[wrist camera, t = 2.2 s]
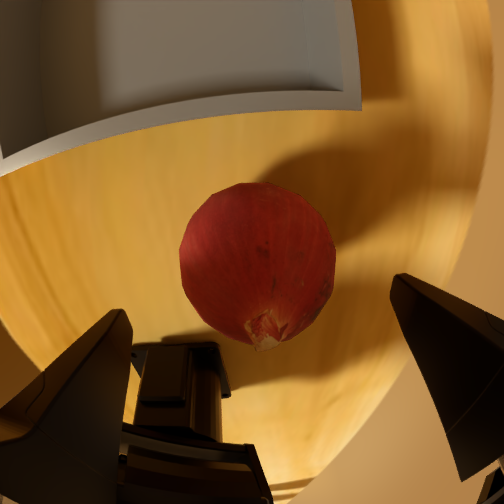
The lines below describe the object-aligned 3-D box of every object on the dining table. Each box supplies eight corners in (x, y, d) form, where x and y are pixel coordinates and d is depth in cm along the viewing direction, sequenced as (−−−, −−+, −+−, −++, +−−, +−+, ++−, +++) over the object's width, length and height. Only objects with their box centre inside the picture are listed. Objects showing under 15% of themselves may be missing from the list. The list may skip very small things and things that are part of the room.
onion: (326, 192, 14) (417, 288, 7) (277, 284, 16) (310, 409, 9) (214, 146, 12) (198, 208, 5) (176, 252, 14) (145, 382, 7)
